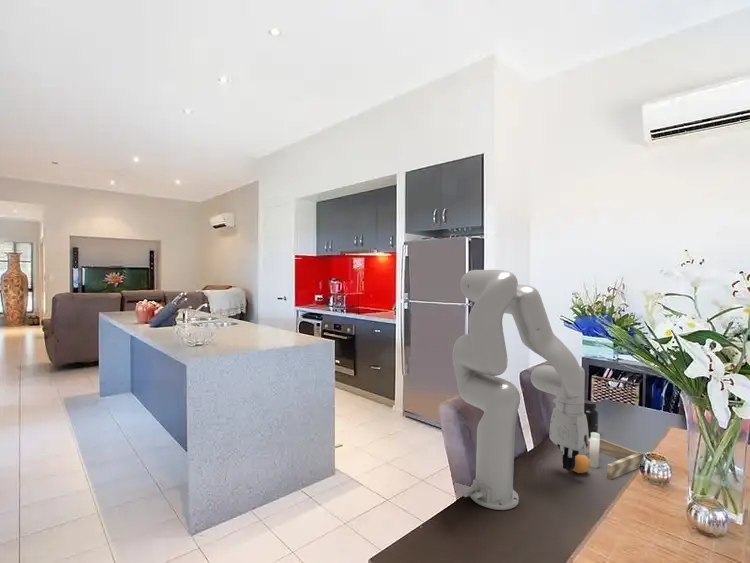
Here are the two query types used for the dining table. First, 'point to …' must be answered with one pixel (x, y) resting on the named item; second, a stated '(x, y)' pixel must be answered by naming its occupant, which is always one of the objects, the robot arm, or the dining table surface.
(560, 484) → the dining table surface
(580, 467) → the ball
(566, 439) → the robot arm
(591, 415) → the supplement bottle
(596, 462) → the front pin
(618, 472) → the u-shaped wooden frame
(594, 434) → the back pin
